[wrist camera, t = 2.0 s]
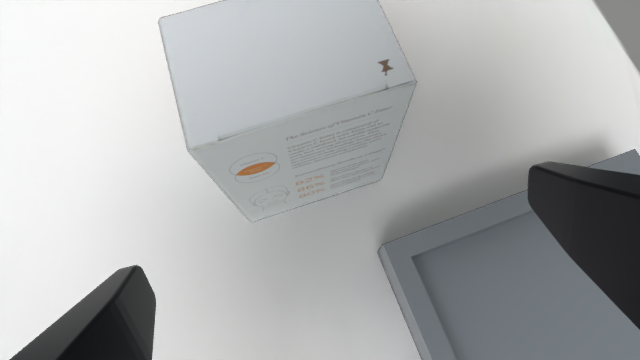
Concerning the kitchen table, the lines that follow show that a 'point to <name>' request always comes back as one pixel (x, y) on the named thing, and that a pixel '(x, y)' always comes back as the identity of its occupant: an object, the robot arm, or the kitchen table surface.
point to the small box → (287, 96)
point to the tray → (505, 288)
